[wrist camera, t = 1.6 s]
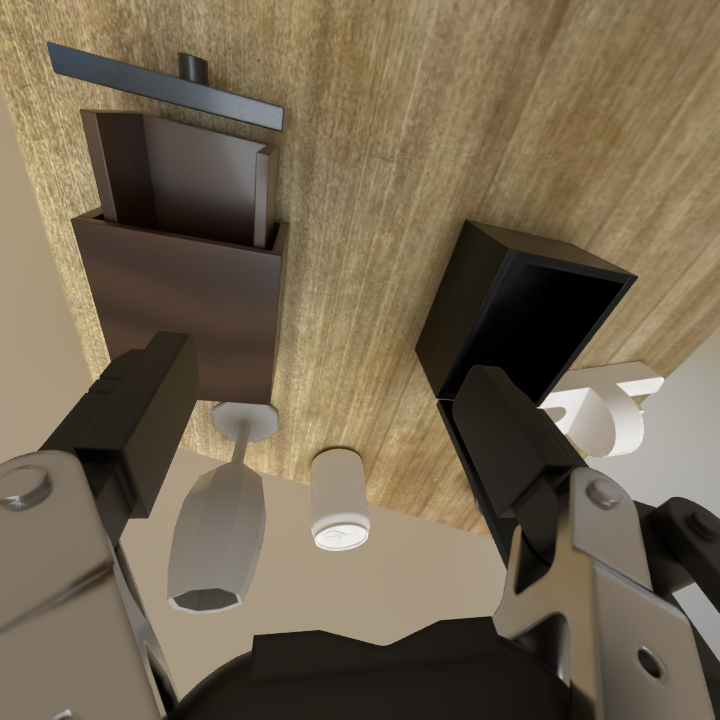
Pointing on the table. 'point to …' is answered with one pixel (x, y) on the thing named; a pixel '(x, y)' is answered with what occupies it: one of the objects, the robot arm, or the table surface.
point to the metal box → (516, 309)
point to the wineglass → (222, 520)
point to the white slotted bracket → (602, 407)
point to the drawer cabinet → (190, 299)
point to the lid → (497, 526)
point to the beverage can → (338, 500)
